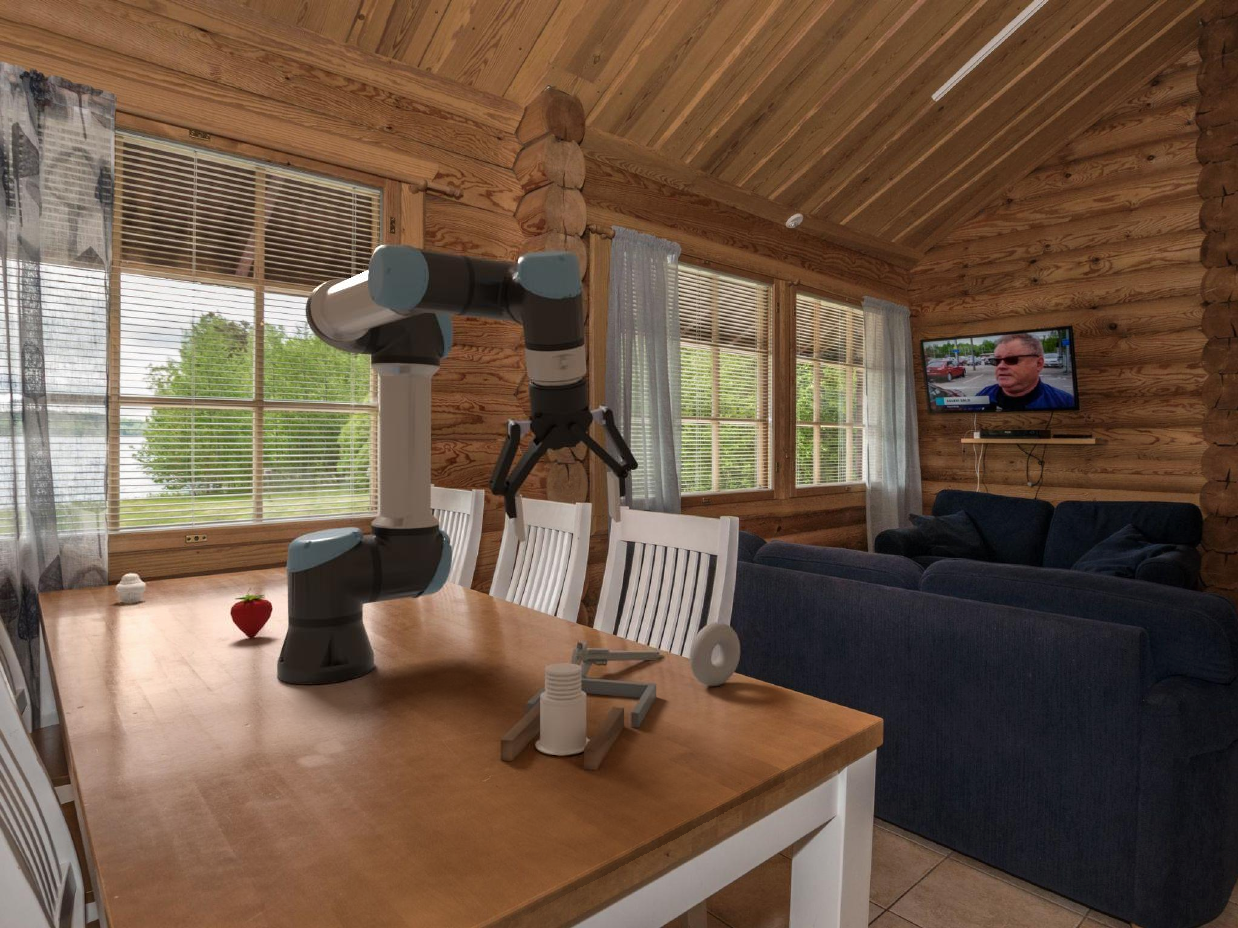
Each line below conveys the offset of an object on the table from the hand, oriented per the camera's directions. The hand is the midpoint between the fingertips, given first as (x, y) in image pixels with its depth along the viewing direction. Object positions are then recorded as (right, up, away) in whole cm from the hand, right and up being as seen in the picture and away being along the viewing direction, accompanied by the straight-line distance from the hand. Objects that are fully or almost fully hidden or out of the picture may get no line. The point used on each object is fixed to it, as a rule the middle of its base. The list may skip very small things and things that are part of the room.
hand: (568, 527), depth 104 cm
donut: (+22, -26, +15) cm, 37 cm away
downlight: (0, -27, -8) cm, 28 cm away
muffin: (-109, -24, +76) cm, 135 cm away
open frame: (+3, -26, +5) cm, 27 cm away
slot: (0, -27, -7) cm, 28 cm away
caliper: (+7, -26, +24) cm, 36 cm away
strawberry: (-65, -25, +44) cm, 82 cm away
